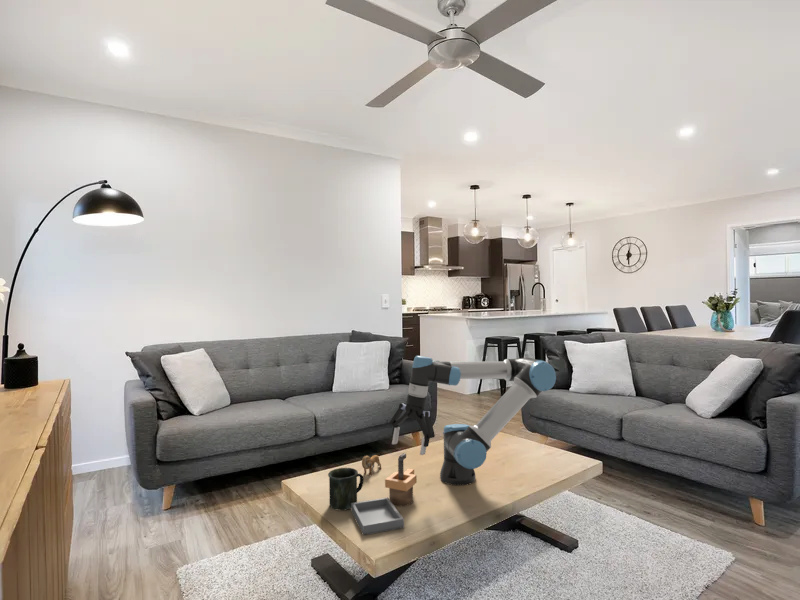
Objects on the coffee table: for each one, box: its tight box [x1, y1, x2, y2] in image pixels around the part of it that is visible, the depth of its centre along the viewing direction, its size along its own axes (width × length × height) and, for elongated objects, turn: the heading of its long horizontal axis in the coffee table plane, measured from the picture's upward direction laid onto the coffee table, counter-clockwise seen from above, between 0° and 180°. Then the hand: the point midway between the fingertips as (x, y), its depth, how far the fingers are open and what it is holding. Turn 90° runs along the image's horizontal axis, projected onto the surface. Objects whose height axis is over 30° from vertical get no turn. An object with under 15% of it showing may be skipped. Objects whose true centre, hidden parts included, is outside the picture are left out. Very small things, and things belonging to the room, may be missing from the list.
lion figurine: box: [361, 454, 382, 476], centre depth 198 cm, size 15×5×9 cm, turn 159°
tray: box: [350, 497, 405, 536], centre depth 153 cm, size 14×18×3 cm
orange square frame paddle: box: [384, 468, 418, 491], centre depth 170 cm, size 14×9×3 cm, turn 154°
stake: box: [388, 453, 414, 507], centre depth 168 cm, size 9×9×18 cm
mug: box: [327, 467, 364, 511], centre depth 166 cm, size 11×15×12 cm
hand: (408, 449), depth 173 cm, fingers open, 13 cm apart
